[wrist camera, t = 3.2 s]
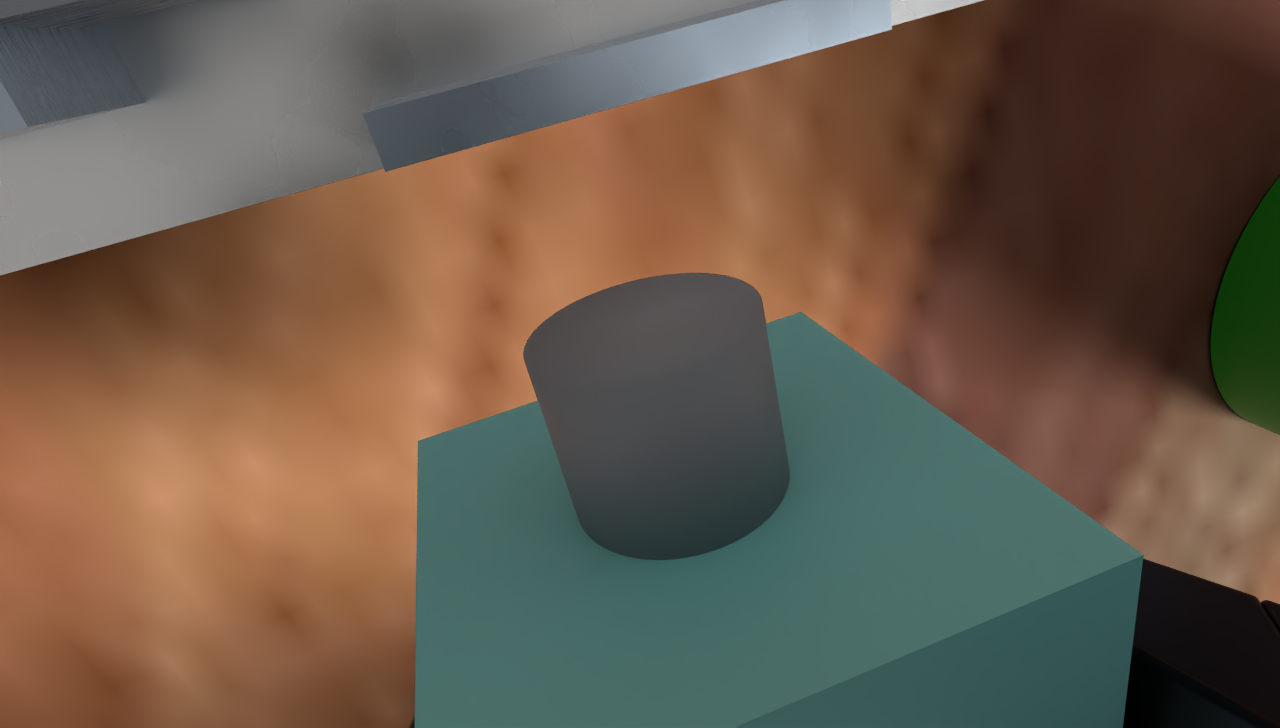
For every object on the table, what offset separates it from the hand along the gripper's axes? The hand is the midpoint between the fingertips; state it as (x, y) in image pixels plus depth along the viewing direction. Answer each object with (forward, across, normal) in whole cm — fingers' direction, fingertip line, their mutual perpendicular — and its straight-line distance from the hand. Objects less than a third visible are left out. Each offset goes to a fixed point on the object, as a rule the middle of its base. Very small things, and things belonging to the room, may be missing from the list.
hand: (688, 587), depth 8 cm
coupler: (+1, 0, 0) cm, 1 cm away
